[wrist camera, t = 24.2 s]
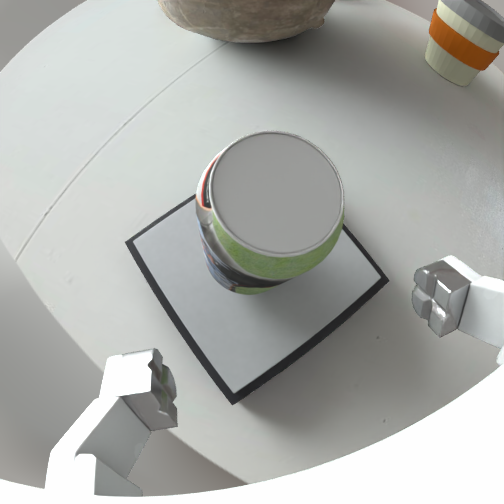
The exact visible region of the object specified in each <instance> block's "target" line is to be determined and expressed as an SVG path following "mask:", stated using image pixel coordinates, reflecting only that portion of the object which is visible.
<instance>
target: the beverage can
mask: <svg viewBox="0 0 504 504" xmlns="http://www.w3.org/2000/svg"><path fill="white" fill-rule="evenodd" d="M195 207H196V217H197V222H198V227H199V232H200V237H201V242H202V247H203V252H204V256H205V261H206V265H207V267H208V269H209V271H210V273H211V275H212V276H213V278H214V279H215V280H216V281H217V282H218V283H219V284H220V285H222V286H223V287H224V288H226V289H228V290H230V291H232V292H235V293H238V294H244V295H255V294H260V293H263V292H266V291H268V290H270V289H272V288H274V287H276V286H278V285H280V284H282V283H285V282H287V281H289V280H291V279H293V278H295V277H297V276H299V275H301V274H303V273H305V272H307V271H309V270H311V269H313V268H314V267H315V266H317V265H318V264H319V263H321V262H322V261H323V260H324V259H325V258H326V257H327V256H328V254H329V253H330V252H331V251H332V249H333V248H334V246H335V244H336V243H337V241H338V239H339V236H340V233H341V230H342V226H343V220H344V190H343V185H342V181H341V179H340V176H339V173H338V171H337V170H336V168H335V166H334V164H333V163H332V161H331V160H330V159H329V158H328V156H327V155H326V154H325V153H324V152H323V151H322V150H321V149H319V148H318V147H317V146H316V145H314V144H313V143H311V142H310V141H308V140H306V139H304V138H302V137H300V136H297V135H294V134H291V133H288V132H282V131H261V132H255V133H252V134H248V135H245V136H243V137H241V138H239V139H238V140H236V141H234V142H233V143H232V144H230V145H229V146H228V147H226V148H225V149H224V150H223V151H221V152H220V153H219V154H217V155H216V156H215V157H214V159H213V160H212V161H211V162H210V163H209V164H208V166H207V167H206V169H205V171H204V172H203V174H202V176H201V179H200V181H199V184H198V187H197V192H196V199H195Z"/></svg>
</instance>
